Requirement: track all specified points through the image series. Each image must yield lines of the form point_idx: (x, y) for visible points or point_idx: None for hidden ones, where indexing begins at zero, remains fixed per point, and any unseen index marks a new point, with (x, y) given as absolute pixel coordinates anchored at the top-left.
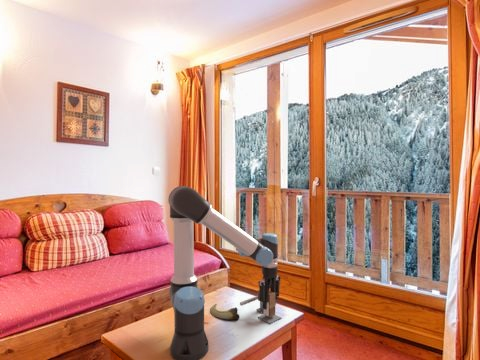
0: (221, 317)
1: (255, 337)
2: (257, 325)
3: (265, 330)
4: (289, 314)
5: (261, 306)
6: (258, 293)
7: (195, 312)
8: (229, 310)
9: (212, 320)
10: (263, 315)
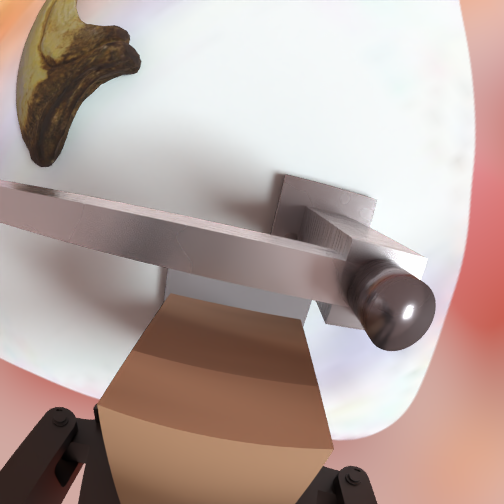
0: (18, 71)
1: (23, 352)
2: (92, 314)
3: (91, 374)
4: (359, 405)
5: (305, 233)
6: (126, 368)
7: None
8: (61, 50)
9: (3, 56)
10: (218, 295)
